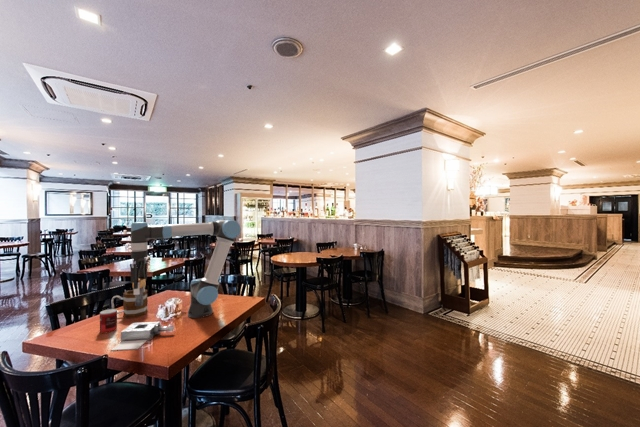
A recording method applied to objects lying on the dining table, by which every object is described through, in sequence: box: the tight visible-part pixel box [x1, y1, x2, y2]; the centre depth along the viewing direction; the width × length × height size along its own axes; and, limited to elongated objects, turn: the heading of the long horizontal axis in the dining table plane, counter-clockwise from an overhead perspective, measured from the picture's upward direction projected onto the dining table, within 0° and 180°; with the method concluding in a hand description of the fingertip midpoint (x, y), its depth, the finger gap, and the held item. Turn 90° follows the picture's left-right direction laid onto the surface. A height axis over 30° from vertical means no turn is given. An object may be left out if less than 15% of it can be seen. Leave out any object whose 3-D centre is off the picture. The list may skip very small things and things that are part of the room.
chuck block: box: [120, 321, 174, 342], centre depth 150 cm, size 23×12×6 cm, turn 98°
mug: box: [110, 288, 148, 319], centre depth 180 cm, size 20×14×15 cm
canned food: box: [99, 308, 118, 334], centre depth 156 cm, size 8×8×11 cm
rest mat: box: [110, 340, 148, 352], centre depth 138 cm, size 12×9×1 cm
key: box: [132, 278, 147, 306], centre depth 151 cm, size 4×4×14 cm
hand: (139, 293), depth 151 cm, fingers closed on key, 4 cm apart
